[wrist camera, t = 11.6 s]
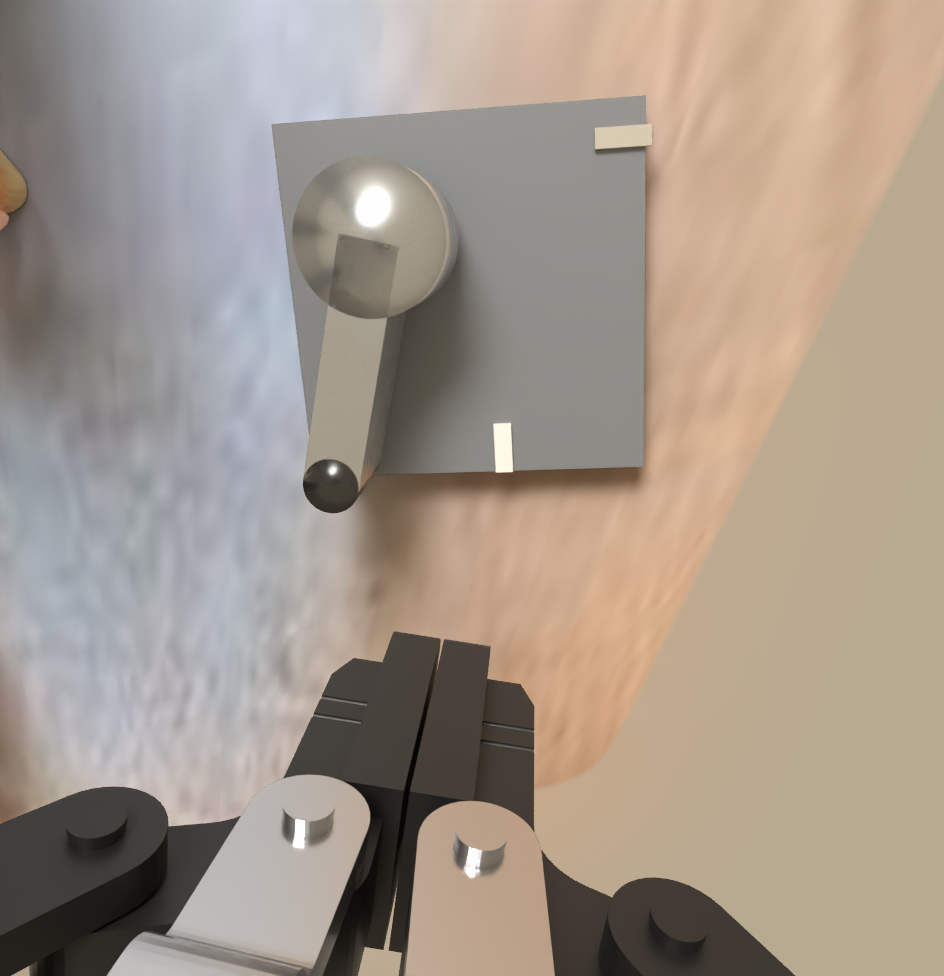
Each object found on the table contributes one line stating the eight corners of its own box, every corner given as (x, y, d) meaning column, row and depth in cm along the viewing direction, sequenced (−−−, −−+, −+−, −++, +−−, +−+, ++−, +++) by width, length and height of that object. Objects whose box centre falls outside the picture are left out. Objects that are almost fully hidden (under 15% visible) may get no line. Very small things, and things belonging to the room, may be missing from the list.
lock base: (323, 467, 35) (312, 478, 33) (284, 129, 31) (269, 123, 29) (644, 456, 34) (649, 468, 32) (646, 101, 30) (652, 93, 28)
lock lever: (335, 153, 29) (303, 140, 25) (471, 182, 29) (459, 173, 25) (292, 466, 32) (258, 497, 29) (412, 493, 32) (394, 527, 29)
